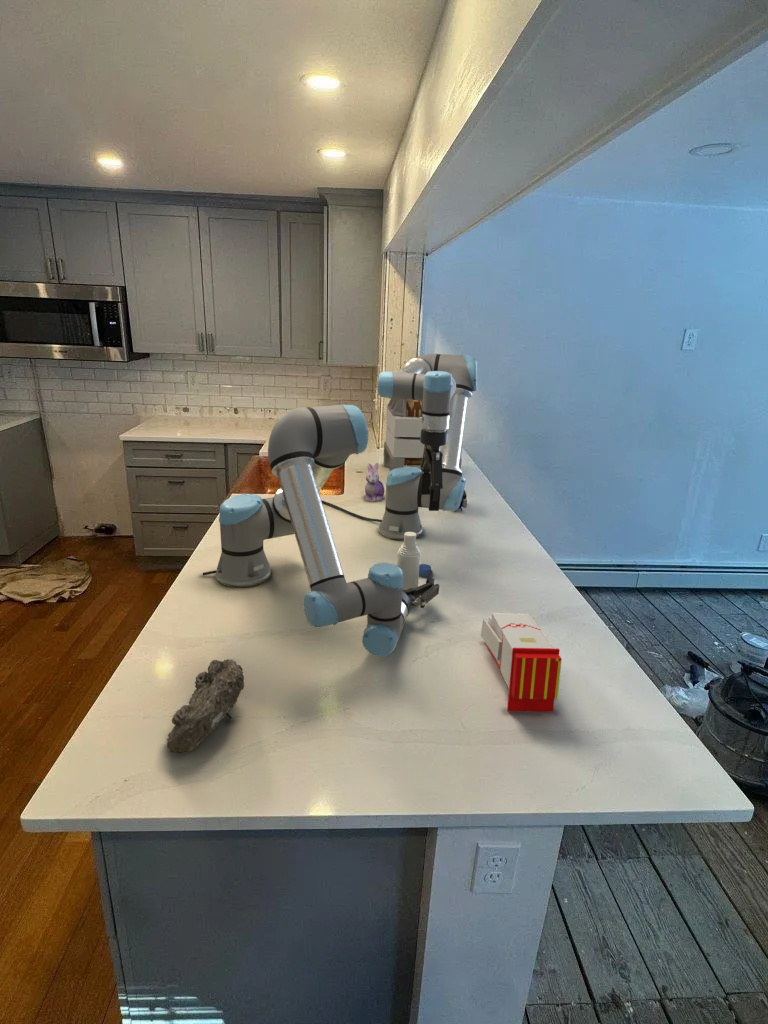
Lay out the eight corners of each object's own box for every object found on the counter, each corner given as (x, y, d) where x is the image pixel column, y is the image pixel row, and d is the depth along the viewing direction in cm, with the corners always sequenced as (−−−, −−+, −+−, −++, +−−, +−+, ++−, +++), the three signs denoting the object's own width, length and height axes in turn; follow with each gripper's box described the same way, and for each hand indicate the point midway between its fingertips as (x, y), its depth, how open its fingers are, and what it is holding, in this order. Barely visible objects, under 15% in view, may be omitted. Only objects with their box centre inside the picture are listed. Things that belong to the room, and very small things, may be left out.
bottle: (421, 600, 155) (426, 533, 148) (408, 607, 151) (412, 540, 144) (404, 593, 159) (408, 527, 152) (390, 600, 154) (394, 533, 148)
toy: (527, 598, 138) (570, 654, 108) (522, 650, 141) (563, 718, 111) (477, 597, 137) (507, 653, 108) (474, 649, 140) (502, 717, 111)
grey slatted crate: (382, 463, 289) (386, 382, 275) (445, 464, 293) (451, 384, 279) (390, 482, 257) (394, 392, 243) (460, 483, 261) (468, 394, 247)
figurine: (369, 503, 229) (370, 467, 224) (358, 496, 237) (359, 461, 232) (389, 500, 233) (391, 465, 228) (378, 493, 242) (380, 459, 236)
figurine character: (467, 516, 223) (461, 500, 237) (469, 499, 220) (463, 483, 233) (450, 516, 223) (446, 499, 236) (452, 498, 220) (447, 483, 233)
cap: (413, 573, 170) (413, 566, 170) (422, 569, 174) (423, 562, 173) (424, 578, 168) (425, 571, 167) (434, 573, 171) (434, 567, 170)
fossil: (192, 660, 117) (244, 628, 112) (224, 691, 120) (276, 661, 115) (142, 746, 98) (202, 712, 93) (182, 779, 101) (242, 748, 96)
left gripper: (346, 616, 140) (368, 578, 160) (440, 631, 135) (451, 590, 155) (346, 589, 137) (369, 553, 157) (442, 603, 132) (453, 565, 152)
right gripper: (414, 419, 167) (410, 488, 174) (429, 440, 144) (423, 518, 151) (439, 420, 168) (434, 488, 175) (458, 440, 145) (451, 517, 152)
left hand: (410, 571), depth 156 cm, fingers open, 11 cm apart
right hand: (429, 502), depth 163 cm, fingers open, 13 cm apart
